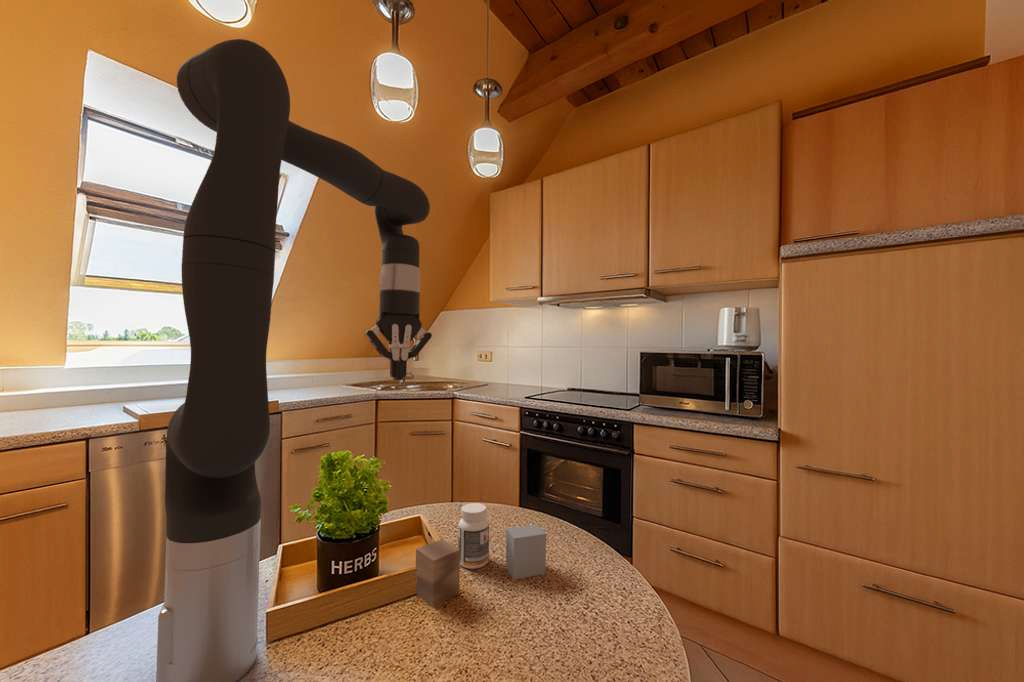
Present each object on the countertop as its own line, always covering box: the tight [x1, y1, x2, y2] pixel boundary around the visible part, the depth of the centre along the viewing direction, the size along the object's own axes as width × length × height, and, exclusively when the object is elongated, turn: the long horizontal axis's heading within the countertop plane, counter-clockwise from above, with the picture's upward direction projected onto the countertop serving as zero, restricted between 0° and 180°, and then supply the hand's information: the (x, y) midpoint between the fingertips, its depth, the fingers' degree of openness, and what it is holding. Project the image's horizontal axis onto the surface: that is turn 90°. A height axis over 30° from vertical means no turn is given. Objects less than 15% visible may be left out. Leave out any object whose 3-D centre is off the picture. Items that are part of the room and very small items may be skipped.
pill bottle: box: [457, 502, 490, 570], centre depth 74 cm, size 6×6×10 cm
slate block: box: [505, 524, 547, 581], centre depth 72 cm, size 6×4×7 cm, turn 110°
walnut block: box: [415, 538, 461, 608], centre depth 65 cm, size 5×5×7 cm
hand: (398, 379), depth 78 cm, fingers closed
